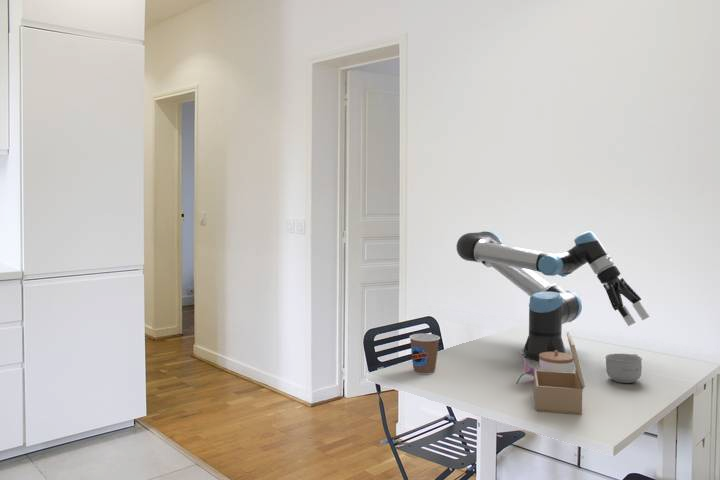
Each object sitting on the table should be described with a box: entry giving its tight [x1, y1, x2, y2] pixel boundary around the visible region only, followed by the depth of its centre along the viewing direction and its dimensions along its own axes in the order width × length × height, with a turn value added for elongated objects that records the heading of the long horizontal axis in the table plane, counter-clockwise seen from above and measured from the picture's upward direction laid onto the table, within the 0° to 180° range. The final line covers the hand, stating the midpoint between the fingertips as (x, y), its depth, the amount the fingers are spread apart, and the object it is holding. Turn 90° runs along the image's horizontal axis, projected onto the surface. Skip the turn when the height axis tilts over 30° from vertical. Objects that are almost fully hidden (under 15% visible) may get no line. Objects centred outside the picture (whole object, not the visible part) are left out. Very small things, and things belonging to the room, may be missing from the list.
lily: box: [516, 350, 537, 385], centre depth 195 cm, size 12×12×10 cm
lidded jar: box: [538, 350, 574, 373], centre depth 200 cm, size 11×11×9 cm
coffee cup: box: [408, 333, 441, 376], centre depth 208 cm, size 10×10×12 cm
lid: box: [566, 331, 586, 390], centre depth 175 cm, size 12×16×1 cm
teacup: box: [605, 353, 643, 384], centre depth 199 cm, size 14×11×8 cm
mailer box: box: [533, 369, 584, 415], centre depth 176 cm, size 12×16×7 cm
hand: (639, 321), depth 217 cm, fingers open, 13 cm apart
